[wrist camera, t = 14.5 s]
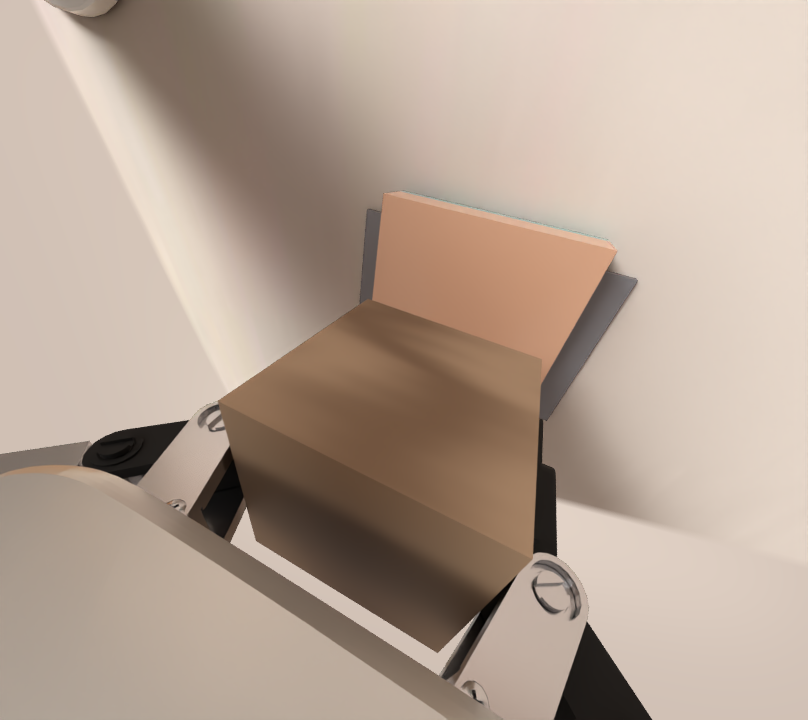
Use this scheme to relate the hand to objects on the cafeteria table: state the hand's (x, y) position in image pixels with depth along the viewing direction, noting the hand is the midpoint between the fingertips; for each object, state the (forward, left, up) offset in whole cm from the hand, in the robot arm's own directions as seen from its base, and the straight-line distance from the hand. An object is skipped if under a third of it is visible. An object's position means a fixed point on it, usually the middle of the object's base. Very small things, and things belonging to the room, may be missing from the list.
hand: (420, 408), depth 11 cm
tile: (0, +6, -8) cm, 9 cm away
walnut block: (0, 0, -1) cm, 1 cm away
